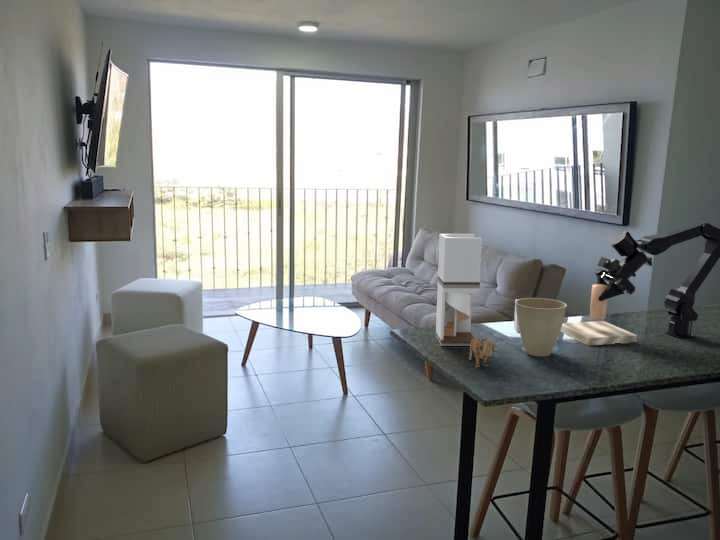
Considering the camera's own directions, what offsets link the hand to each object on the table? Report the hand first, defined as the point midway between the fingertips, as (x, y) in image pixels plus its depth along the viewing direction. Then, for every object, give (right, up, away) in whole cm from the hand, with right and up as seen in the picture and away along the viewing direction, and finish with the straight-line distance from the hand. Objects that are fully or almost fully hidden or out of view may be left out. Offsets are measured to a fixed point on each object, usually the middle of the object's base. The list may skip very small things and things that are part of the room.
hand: (595, 298), depth 196 cm
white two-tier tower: (-48, -14, -6) cm, 51 cm away
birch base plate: (+1, -13, +3) cm, 13 cm away
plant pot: (-24, -16, -16) cm, 33 cm away
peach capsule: (+1, -6, +1) cm, 7 cm away
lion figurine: (-44, -18, -26) cm, 55 cm away
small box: (-21, -12, +9) cm, 26 cm away
